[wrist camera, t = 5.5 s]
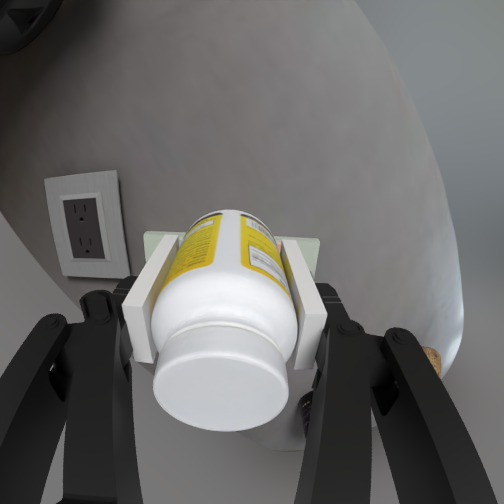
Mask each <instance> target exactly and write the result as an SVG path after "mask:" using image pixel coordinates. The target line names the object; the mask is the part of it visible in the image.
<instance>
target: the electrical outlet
mask: <svg viewBox="0 0 504 504" xmlns="http://www.w3.org/2000/svg"><path fill="white" fill-rule="evenodd" d="M44 182H45V190H46V197H47V203H48V210H49V215H50V221H51V226H52V231H53V236H54V241H55V245H56V250H57V254H58V258H59V262H60V266H61V269H62V273H63V276H77V277H98V278H121V279H124V278H126V277H127V276H131V273H130V268H129V262H128V256H127V250H126V243H125V236H124V229H123V221H122V213H121V204H120V194H119V183H118V170H112V171H102V172H92V173H83V174H75V175H67V176H60V177H53V178H46V179H44Z"/></svg>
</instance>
